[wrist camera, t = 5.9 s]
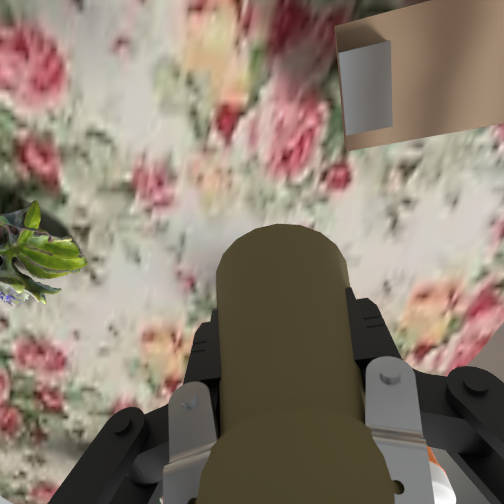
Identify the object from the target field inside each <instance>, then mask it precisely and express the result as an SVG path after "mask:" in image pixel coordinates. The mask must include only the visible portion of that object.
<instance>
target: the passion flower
mask: <svg viewBox="0 0 504 504" xmlns="http://www.w3.org/2000/svg"><path fill="white" fill-rule="evenodd" d="M26 212H27V213H26ZM24 213H26V215H25V217H24V219H23V214H24ZM40 221H41V212H40V208H39V204H38V202H37V201H33V202H32V205H31V206H30V207H27V208H24V209H21V210H18V211H15V212H12V213H8V214H0V226H2V227H3V228H4V235H3V239H2V242H1V245H0V299H1V300H3V301H4V302H8V303H9V304H10V305H11V306H12V304H11V302H14V303H15V304H17V306H18V305H19V304H21V303H25V302H24V301H25V299H26V300H28V296H29V295H31V296H33V297H34V298H35V299H36V300H37V301H38V302H39V301H40V300H41V301H42V302H43V304H46V299H45V295H44V293H46V294H57V293H59V292H60V291H61V290H62V289H61V288H60V289H57V288H51V287H50V286H49V285H48V286H47V285H43V284H41V283H40V282H35V281H34V280H32V279H31V278H30V277H29V276H27V275H25V274H22V273H21V272H20V271H19V270H18V269H17V268H16V266H15V265H14V263H15V259H13V258H12V257H16V258H17V259H18V261H21V262H23V263H24V264H25V267H26V269H27V270H28V271H29V273H30V274H31V275H32V276H33V277H37V278H39V279H46V278H47V279H51V278H56V277H60V276H63V275H67V274H68V273H70V274H75V273H78V272H79V271H80V269H81V268H82V267H85V266H86V265H87V264H88V262H87V260H86V258H85V256H84V255H82V254H81V252H80V249H79V247H78V246H77V245H76V244H75V243H73V242H72V237H71V236H70V235H67V236H65V237H58V236H52V235H50V234H49V233H48V232H47V231H44V230H40V229H38V227H39V223H40ZM18 223H19V224H18ZM11 226H14V227H16V228H17V230H18V234H17V235H14V234H13V233H12V232H11V229H10V227H11ZM35 231H36V232H39V233H46V234H47V235H41V234H34V232H35ZM7 235H8V236H9V240H8V242H7V243H6V244H3V243H4V240H5V238H6V236H7Z"/></svg>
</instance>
